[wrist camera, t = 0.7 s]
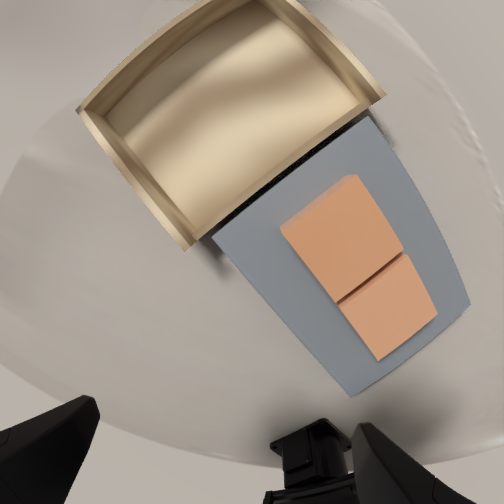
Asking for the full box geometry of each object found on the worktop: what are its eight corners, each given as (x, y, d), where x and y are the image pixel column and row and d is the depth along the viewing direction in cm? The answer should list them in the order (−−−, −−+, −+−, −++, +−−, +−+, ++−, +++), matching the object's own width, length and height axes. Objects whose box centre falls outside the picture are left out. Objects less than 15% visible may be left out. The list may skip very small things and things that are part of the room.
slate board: (455, 293, 20) (470, 304, 18) (344, 378, 22) (350, 397, 20) (356, 122, 17) (368, 115, 15) (218, 230, 20) (211, 237, 17)
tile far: (424, 302, 18) (438, 314, 16) (369, 345, 19) (378, 360, 17) (394, 247, 17) (407, 255, 15) (332, 295, 18) (339, 308, 16)
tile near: (390, 241, 17) (404, 248, 15) (328, 289, 18) (335, 302, 16) (346, 174, 16) (356, 174, 14) (279, 226, 17) (281, 232, 15)
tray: (367, 107, 17) (386, 94, 14) (197, 239, 20) (184, 251, 16) (257, -4, 15) (255, -30, 12) (101, 118, 18) (75, 110, 15)
